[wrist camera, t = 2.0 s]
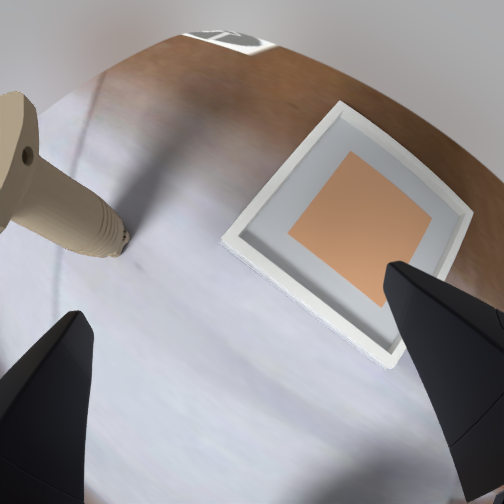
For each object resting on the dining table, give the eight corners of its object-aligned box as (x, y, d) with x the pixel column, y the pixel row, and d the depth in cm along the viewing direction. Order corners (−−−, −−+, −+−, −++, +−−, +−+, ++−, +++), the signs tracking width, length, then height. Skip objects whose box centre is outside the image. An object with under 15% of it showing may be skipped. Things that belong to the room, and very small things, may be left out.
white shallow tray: (382, 368, 21) (392, 373, 19) (219, 243, 22) (217, 238, 21) (464, 217, 23) (475, 212, 22) (333, 109, 25) (338, 97, 23)
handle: (143, 198, 23) (41, 79, 8) (139, 280, 22) (-4, 235, 7) (91, 202, 23) (-27, 109, 8) (85, 279, 22) (-64, 241, 7)
